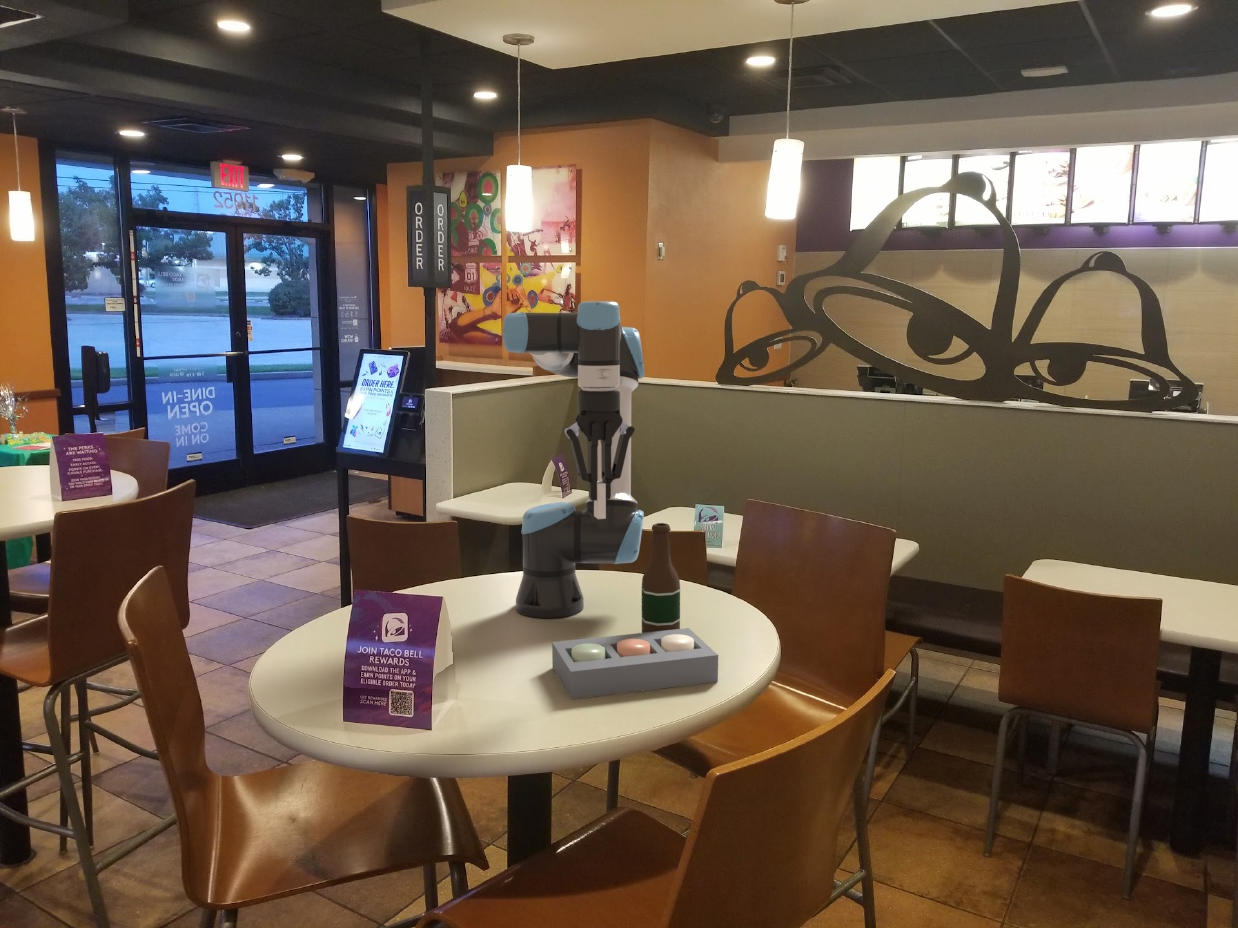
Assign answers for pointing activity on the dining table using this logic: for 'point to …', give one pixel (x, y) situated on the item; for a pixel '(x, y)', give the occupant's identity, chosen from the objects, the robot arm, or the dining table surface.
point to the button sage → (587, 652)
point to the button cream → (677, 643)
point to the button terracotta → (633, 647)
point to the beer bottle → (660, 586)
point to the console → (633, 666)
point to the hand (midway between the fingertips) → (599, 517)
